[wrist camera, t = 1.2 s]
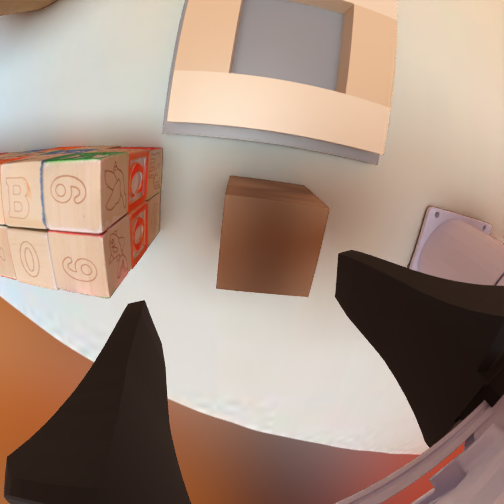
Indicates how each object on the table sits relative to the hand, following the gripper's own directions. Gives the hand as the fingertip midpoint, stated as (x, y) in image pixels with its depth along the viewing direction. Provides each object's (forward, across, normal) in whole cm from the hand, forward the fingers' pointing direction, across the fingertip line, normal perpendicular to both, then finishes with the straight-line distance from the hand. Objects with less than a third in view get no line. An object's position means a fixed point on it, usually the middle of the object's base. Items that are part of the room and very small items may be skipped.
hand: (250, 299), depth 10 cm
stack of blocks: (+15, +13, -4) cm, 20 cm away
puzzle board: (+10, -6, -11) cm, 16 cm away
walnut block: (+10, -4, +1) cm, 11 cm away
